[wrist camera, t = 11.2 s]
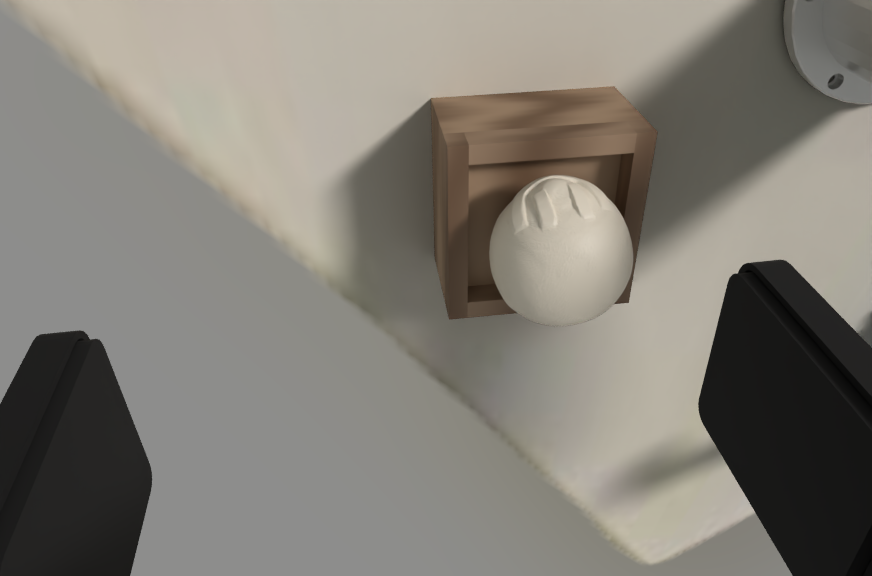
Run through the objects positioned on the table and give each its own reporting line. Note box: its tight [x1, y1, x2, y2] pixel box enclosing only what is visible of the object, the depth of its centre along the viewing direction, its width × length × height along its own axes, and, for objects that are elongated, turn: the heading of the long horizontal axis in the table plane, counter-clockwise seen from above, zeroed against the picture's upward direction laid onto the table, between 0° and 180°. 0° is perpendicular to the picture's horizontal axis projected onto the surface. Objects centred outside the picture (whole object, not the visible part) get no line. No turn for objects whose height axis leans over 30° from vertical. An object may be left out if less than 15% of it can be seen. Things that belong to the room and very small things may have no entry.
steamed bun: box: [489, 175, 633, 326], centre depth 35 cm, size 7×7×7 cm
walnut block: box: [431, 87, 658, 319], centre depth 39 cm, size 10×10×6 cm
